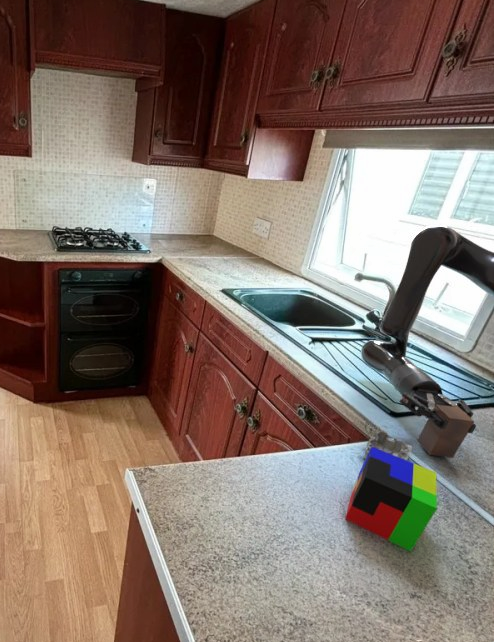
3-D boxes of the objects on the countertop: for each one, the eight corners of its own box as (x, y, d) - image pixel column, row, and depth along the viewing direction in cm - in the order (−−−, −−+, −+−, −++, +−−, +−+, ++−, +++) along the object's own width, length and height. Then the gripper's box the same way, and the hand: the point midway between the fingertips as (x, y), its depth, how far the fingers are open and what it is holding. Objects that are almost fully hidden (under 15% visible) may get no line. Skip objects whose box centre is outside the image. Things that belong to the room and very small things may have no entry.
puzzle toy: (353, 486, 79) (371, 446, 75) (412, 513, 74) (436, 472, 70) (345, 519, 72) (365, 477, 67) (410, 551, 67) (437, 508, 62)
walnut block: (439, 442, 93) (459, 407, 89) (453, 457, 89) (474, 421, 84) (416, 439, 93) (435, 404, 89) (429, 454, 89) (450, 418, 84)
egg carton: (371, 438, 94) (378, 424, 92) (408, 456, 89) (416, 441, 87) (358, 459, 86) (365, 444, 85) (397, 479, 82) (406, 464, 80)
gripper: (390, 368, 99) (431, 408, 84) (451, 375, 98) (503, 418, 83) (379, 393, 102) (416, 437, 87) (437, 401, 102) (485, 446, 86)
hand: (458, 427), depth 85 cm, fingers closed on walnut block, 5 cm apart
